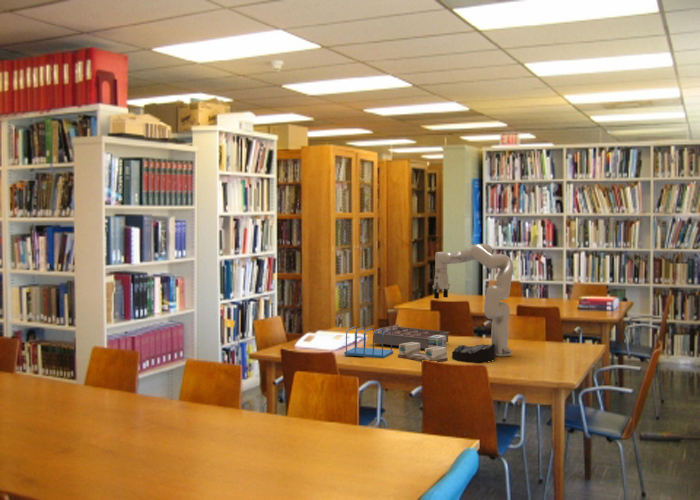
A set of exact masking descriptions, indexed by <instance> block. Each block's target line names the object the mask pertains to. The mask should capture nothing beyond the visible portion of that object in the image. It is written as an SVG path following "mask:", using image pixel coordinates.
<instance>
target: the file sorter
mask: <svg viewBox="0 0 700 500" xmlns="http://www.w3.org/2000/svg"><path fill="white" fill-rule="evenodd" d="M352 329H355V332H354V347H352V348H350V349H348V332H349V330H350V331H351V330H352ZM378 329H379V330H382V329H380V328H378ZM360 330H364V332H363V347H360V346H359V347H358V331H360ZM371 330H372V348H370V347H366V336H367V335H366V334H367V333H366V332H369V331H371ZM375 330H376V329H374V327H371V328H368V329H366V328H365V327H364V326H363V327H360V328H357V326H353V327H350V328H348V329H346V332H345V351H344V355H345V356H353V357H354V356H356V357H367V358H376V359H377V358H378V359H385V358H386V357H389V356H391V355H392V354H394V350H393V345H392V330H391V329H389V330H387V331H391V345H390V349H384V344H383V335H384V333H385V332H387V331H385V332H383V330H382V344H381V349H380V348H375V343H374V333H375V332H377V331H379V330H376V331H375Z"/></svg>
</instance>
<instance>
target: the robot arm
mask: <svg viewBox="0 0 700 500" xmlns="http://www.w3.org/2000/svg"><path fill="white" fill-rule="evenodd" d="M492 253H493V248H492V246H491V245H490V244H488V243H476V244H474V245H472V246H468V247H466V248H465V249H464V250H460V251H437V252H435V255H434V256H435V259H434V261H435V265H434V266H435V267H434V268H435V270H434V271H435V273H434V274H435V275H434V281H433V282H434V283H433V285H432V290H433V293H434V294H433V295H434V297H433V298H434V299H437V300H439V298H440V293H439V291H440V290H443V291H442V297H443V298H449V289H450V283H449V281H450V280H449V274H448V265H455V264H462V263H467V262H471V261H475V260H476V261H477V262H478V263H480V264H481V265H482V266H484V267H485V268H486V269H489V270H495V269H499V271H498V273H497V275H496V282H495V284H492V285H490V286H489V287H488V288H487V289H486V292H485V297H484V305H483V314H484V315H485V317H486V318H487V319H488V320H492V322H491V344H495V357H509V356H510V355H511V354H513V353H514V351H513V349H510V347H509V319H510V314H511V313H510V312H511V311H510V310H511V309H510V306H509V305H508V303H506V302H504V301H505V300H507V299H508V298H509V297H510V294H511V286H512V285H511V284H512V279H513V272H514V263H513V260H512V259H511V258H510V257H509V256H508V255H507V254H503V253H498V254H497V253H496V254H492Z"/></svg>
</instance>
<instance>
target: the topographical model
mask: <svg viewBox="0 0 700 500" xmlns="http://www.w3.org/2000/svg"><path fill="white" fill-rule="evenodd" d="M451 353H452V354H451V358H452V359H453V360H455V361H457V362H463V363H474V364H484V363H483V362H486V363H489V362H488V361H491V362H493V361H492V360H494V359H495V360H496V356H495V344H492V343H491V344H484V343H482V344H477V345H474V346H472V345H471V346H467V345H466V344H465V345H464V344H463V345H458V346H457V347H456V348H454V350H453V351H452V352H451ZM495 360H494V361H495Z"/></svg>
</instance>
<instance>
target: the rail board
mask: <svg viewBox="0 0 700 500" xmlns="http://www.w3.org/2000/svg"><path fill="white" fill-rule="evenodd" d="M447 348H448V347H447V346H446V347H440V346H437V347H432V348H426V349H424V353H423V352H421V348H420V343H417V342H409V343H403V344H399V346H398V354H397V358H401V359H407V360H412V361H417V362H421V361H422V360H429V361H437V363H442V362H446V361H448V360H449V358H448V357H447V356H448V355H447V351H448V349H447Z"/></svg>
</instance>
